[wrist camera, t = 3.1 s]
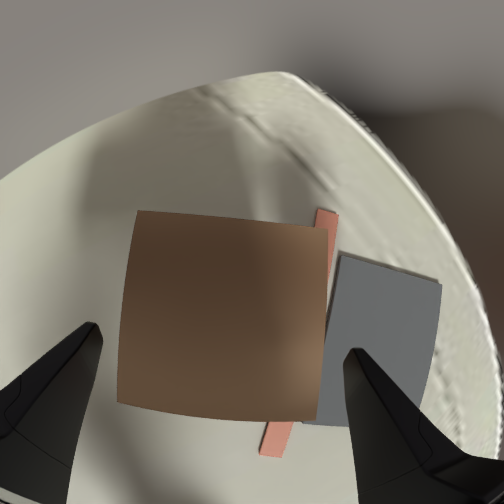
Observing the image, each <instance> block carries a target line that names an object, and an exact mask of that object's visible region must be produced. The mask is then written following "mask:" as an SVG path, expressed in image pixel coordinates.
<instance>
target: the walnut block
mask: <svg viewBox="0 0 504 504" xmlns="http://www.w3.org/2000/svg"><path fill="white" fill-rule="evenodd" d="M327 281H328V229H324V228H316V227H308V226H300V225H291V224H282V223H273V222H264V221H255V220H245V219H235V218H225V217H214V216H203V215H192V214H180V213H167V212H154V211H140V210H138V212H137V216H136V221H135V226H134V231H133V236H132V241H131V247H130V253H129V258H128V265H127V271H126V278H125V285H124V293H123V302H122V311H121V321H120V334H119V349H118V373H117V402H119V403H123V404H127V405H132V406H136V407H141V408H145V409H150V410H155V411H161V412H166V413H172V414H179V415H186V416H193V417H201V418H210V419H221V420H234V421H255V422H298V421H316V415H317V407H318V399H319V391H320V382H321V373H322V362H323V351H324V338H325V324H326V306H327Z"/></svg>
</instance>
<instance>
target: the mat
mask: <svg viewBox="0 0 504 504" xmlns="http://www.w3.org/2000/svg"><path fill="white" fill-rule="evenodd" d="M441 294H442V284H438V283H435V282H432V281H429V280H425V279H422V278H419V277H415V276H412V275H409V274H405V273H402V272H398V271H395V270H392V269H388V268H385V267H381V266H378V265H375V264H371V263H368V262H364V261H361V260H357V259H354V258H350V257H346V256H343V255H341V256H339V263H338V269H337V275H336V280H335V286H334V291H333V297H332V302H331V307H330V312H329V316H328V321H327V326H326V330H325V338H324V351H323V362H322V373H321V382H320V391H319V399H318V407H317V415H316V421H301V422H302V423H303V424H312V425H325V426H343V427H349V423H348V417H347V411H346V404H345V392H344V377H343V362H344V359H345V358H346V356H347V354H348V353H349V351H350V349H351V348H354V347H361V348H363V349H364V350H365V351H366V352H367V353H368V354H369V355H370V356H371V357H372V358H373V359H374V360H375V362H376V363H377V364H378V365H379V366H380V367H381V368H382V369H383V370H384V371H385V372H386V373H387V374H388V376H389V377H390V378H391V379H392V380H393V381H394V382H395V383H396V384H397V385H398V386H399V388H400V389H401V390H402V391H403V392H404V393H405V394H406V395H407V396H408V397H409V399H410V400H411V401H412V402H413V403H414V404H415V405H416V406H417V407H418V408H419V407H420V404H421V401H422V397H423V394H424V390H425V386H426V382H427V378H428V374H429V370H430V365H431V361H432V356H433V351H434V345H435V340H436V334H437V327H438V320H439V313H440V304H441Z"/></svg>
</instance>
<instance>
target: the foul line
mask: <svg viewBox="0 0 504 504" xmlns="http://www.w3.org/2000/svg"><path fill="white" fill-rule="evenodd" d="M338 216H339V215H338V214H334V213H331V212H328V211H325V210H321V209H318V210H317V214H316V220H315V226H314V227H316V228H324V229H328V279H329V273H330V268H331V262H332V256H333V250H334V243H335V237H336V230H337V223H338ZM327 284H328V281H327ZM292 425H293V422H268V425H267V429H266V432H265V435H264V438H263V442H262V445H261V448H260V451H259V455H263V456H271V457H281V458H282V455H283V452H284V449H285V446H286V443H287V440H288V437H289V434H290V431H291V428H292Z"/></svg>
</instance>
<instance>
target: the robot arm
mask: <svg viewBox="0 0 504 504" xmlns="http://www.w3.org/2000/svg"><path fill="white" fill-rule="evenodd" d="M102 346H103V337H102V335H101V332H100V329H99V326H98V325H97V323H93V322H85V323H84V324H83V325H81V326H80V327H79V328H77V329H76V330H75V331H73V332H72V333H71V334H70V335H68V336H67V337H66V338H65V339H63V340H62V341H61V342H59V343H58V344H57V345H56V346H54V347H53V348H52V349H51V350H49V351H48V352H47V353H46V354H45V355H43V356H42V357H41V358H40V359H38V360H37V361H36V362H35V363H34V364H32V365H31V366H30V367H29V368H28V369H26V370H25V371H24V372H23V373H22V375H19V376H18V377H17V378H16V379H14V380H13V381H12V382H11V383H9V384H8V385H7V386H6V387H4V388H3V389H2V390H0V504H66V501H67V494H68V488H69V482H70V476H71V471H72V465H73V460H74V455H75V451H76V446H77V442H78V438H79V434H80V430H81V426H82V422H83V418H84V415H85V411H86V407H87V404H88V401H89V397H90V394H91V391H92V388H93V384H94V381H95V377H96V373H97V368H98V363H99V359H100V354H101V350H102ZM343 377H344V392H345V404H346V411H347V417H348V423H349V429H350V435H351V442H352V449H353V456H354V464H355V472H356V480H357V490H358V501H359V504H504V460H496V459H489V458H483V457H477V456H472V455H469V454H467V453H465V452H463V451H462V450H461V449H459V448H458V447H457V446H456V445H455V444H454V443H453V442H452V441H451V440H449V439H448V438H447V437H446V436H445V435H444V434H443V433H442V432H441V431H440V430H439V429H437V428H436V427H435V426H434V425H433V424H432V422H431V421H430V420H429V419H428V418H427V417H426V416H425V415H424V414H423V413H422V412H420V410H419V408H418V407H417V406H416V405H415V404H414V403H413V402H412V401H411V400H410V399H409V397H408V396H407V395H406V394H405V393H404V392H403V391H402V390H401V389H400V388H399V386H398V385H397V384H396V383H395V382H394V381H393V380H392V379H391V378H390V377H389V376H388V374H387V373H386V372H385V371H384V370H383V369H382V368H381V367H380V366H379V365H378V364H377V363H376V362H375V360H374V359H373V358H372V357H371V356H370V355H369V354H368V353H367V352H366V351H365V350H364V349H363V348H361V347H354V348H351V349H350V351H349V353H348V354H347V356H346V358H345V359H344V362H343Z"/></svg>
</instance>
